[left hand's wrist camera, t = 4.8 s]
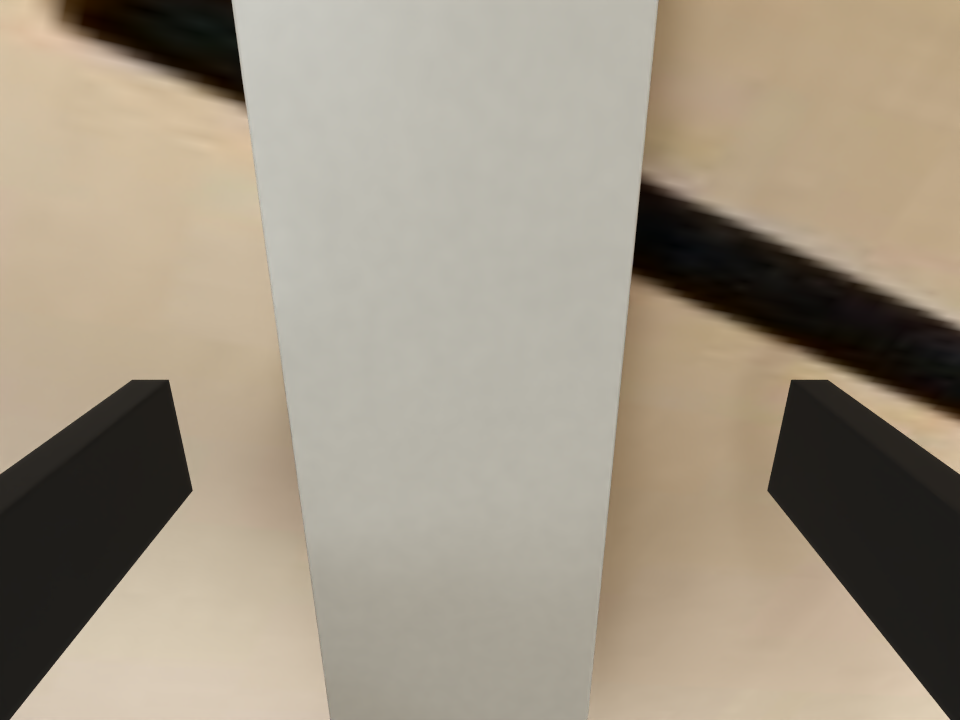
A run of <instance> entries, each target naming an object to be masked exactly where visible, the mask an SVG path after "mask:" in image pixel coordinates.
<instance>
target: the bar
mask: <svg viewBox="0 0 960 720" xmlns="http://www.w3.org/2000/svg"><path fill="white" fill-rule="evenodd" d="M658 1H659V0H232V6H233V13H234V20H235V28H236V35H237V42H238V49H239V57H240V64H241V71H242V79H243V86H244V93H245V101H246V108H247V115H248V122H249V130H250V137H251V144H252V152H253V159H254V166H255V174H256V181H257V188H258V195H259V203H260V210H261V217H262V225H263V232H264V239H265V247H266V254H267V261H268V268H269V276H270V283H271V290H272V298H273V305H274V312H275V320H276V327H277V334H278V342H279V349H280V356H281V363H282V371H283V378H284V385H285V393H286V400H287V407H288V415H289V422H290V429H291V436H292V444H293V451H294V458H295V466H296V473H297V480H298V488H299V495H300V502H301V509H302V517H303V524H304V531H305V539H306V546H307V553H308V561H309V568H310V575H311V582H312V590H313V597H314V604H315V612H316V619H317V626H318V634H319V641H320V648H321V656H322V663H323V670H324V677H325V685H326V692H327V699H328V707H329V714H330V720H588V712H589V701H590V691H591V681H592V671H593V661H594V651H595V641H596V630H597V620H598V610H599V600H600V590H601V580H602V570H603V559H604V549H605V539H606V529H607V519H608V509H609V499H610V488H611V478H612V468H613V458H614V448H615V438H616V428H617V417H618V407H619V397H620V387H621V377H622V367H623V357H624V346H625V336H626V326H627V316H628V306H629V296H630V286H631V275H632V265H633V255H634V245H635V235H636V225H637V215H638V204H639V194H640V184H641V174H642V164H643V154H644V143H645V133H646V123H647V113H648V103H649V93H650V83H651V72H652V62H653V52H654V42H655V32H656V22H657V12H658Z"/></svg>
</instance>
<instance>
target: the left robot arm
mask: <svg viewBox="0 0 960 720" xmlns="http://www.w3.org/2000/svg"><path fill="white" fill-rule="evenodd" d="M192 491H193V490H192V485H191V481H190V476H189V472H188V467H187V462H186V458H185V453H184V448H183V444H182V439H181V434H180V430H179V425H178V421H177V416H176V411H175V407H174V402H173V397H172V393H171V388H170V384H169V380H132V381H130V382H129V383H127V384H126V385H125V386H123V387H122V388H120V389H119V390H118V391H116V392H115V393H113V394H112V395H111V396H109V397H108V398H106V399H105V400H104V401H102V402H101V403H99V404H98V405H97V406H95V407H94V408H92V409H91V410H90V411H88V412H87V413H85V414H84V415H83V416H81V417H80V418H78V419H77V420H76V421H74V422H73V423H71V424H70V425H69V426H67V427H66V428H65V429H63V430H62V431H60V432H59V433H58V434H56V435H55V436H53V437H52V438H51V439H49V440H48V441H46V442H45V443H44V444H42V445H41V446H39V447H38V448H37V449H35V450H34V451H32V452H31V453H30V454H28V455H27V456H25V457H24V458H23V459H21V460H20V461H18V462H17V463H16V464H14V465H13V466H11V467H10V468H9V469H7V470H6V471H4V472H3V473H2V474H0V720H10V719H11V717H12V716H13V715H14V714H15V712H16V711H17V710H18V709H19V707H20V706H21V705H22V704H23V702H24V701H25V700H26V699H27V697H28V696H29V695H30V694H31V692H32V691H33V690H34V689H35V687H36V686H37V685H38V684H39V682H40V681H41V680H42V679H43V677H44V676H45V675H46V674H47V672H48V671H49V670H50V669H51V667H52V666H53V665H54V664H55V662H56V661H57V660H58V659H59V657H60V656H61V655H62V653H63V652H64V651H65V650H66V648H67V647H68V646H69V645H70V643H71V642H72V641H73V640H74V638H75V637H76V636H77V635H78V633H79V632H80V631H81V630H82V628H83V627H84V626H85V625H86V623H87V622H88V621H89V620H90V618H91V617H92V616H93V615H94V613H95V612H96V611H97V610H98V608H99V607H100V606H101V605H102V603H103V602H104V601H105V600H106V598H107V597H108V596H109V595H110V593H111V592H112V591H113V590H114V588H115V587H116V586H117V585H118V583H119V582H120V581H121V580H122V578H123V577H124V576H125V575H126V573H127V572H128V571H129V570H130V568H131V567H132V566H133V565H134V563H135V562H136V561H137V560H138V558H139V557H140V556H141V555H142V553H143V552H144V551H145V550H146V548H147V547H148V546H149V545H150V543H151V542H152V541H153V540H154V538H155V537H156V536H157V535H158V533H159V532H160V531H161V530H162V528H163V527H164V526H165V525H166V523H167V522H168V521H169V520H170V518H171V517H172V516H173V515H174V513H175V512H176V511H177V510H178V508H179V507H180V506H181V505H182V503H183V502H184V501H185V500H186V498H187V497H188V496H189V495H190V493H191V492H192ZM767 491H768V492H769V493H770V495H771V496H772V497H773V498H774V500H775V501H776V502H777V503H778V505H779V506H780V507H781V508H782V510H783V511H784V512H785V513H786V515H787V516H788V517H789V518H790V520H791V521H792V522H793V523H794V525H795V526H796V527H797V528H798V530H799V531H800V532H801V533H802V535H803V536H804V537H805V538H806V540H807V541H808V542H809V543H810V545H811V546H812V547H813V548H814V550H815V551H816V552H817V553H818V555H819V556H820V557H821V558H822V560H823V561H824V562H825V563H826V565H827V566H828V567H829V568H830V570H831V571H832V572H833V573H834V575H835V576H836V577H837V578H838V580H839V581H840V582H841V583H842V585H843V586H844V587H845V588H846V590H847V591H848V592H849V593H850V595H851V596H852V597H853V598H854V600H855V601H856V602H857V603H858V605H859V606H860V607H861V608H862V610H863V611H864V612H865V613H866V615H867V616H868V617H869V618H870V620H871V621H872V622H873V623H874V625H875V626H876V627H877V628H878V630H879V631H880V632H881V633H882V635H883V636H884V637H885V638H886V640H887V641H888V642H889V643H890V645H891V646H892V647H893V648H894V650H895V651H896V652H897V653H898V655H899V656H900V657H901V659H902V660H903V661H904V662H905V664H906V665H907V666H908V667H909V669H910V670H911V671H912V672H913V674H914V675H915V676H916V677H917V679H918V680H919V681H920V682H921V684H922V685H923V686H924V687H925V689H926V690H927V691H928V692H929V694H930V695H931V696H932V697H933V699H934V700H935V701H936V702H937V704H938V705H939V706H940V707H941V709H942V710H943V711H944V712H945V714H946V715H947V716H948V717H949V719H950V720H960V474H958V473H957V472H956V471H954V470H953V469H951V468H950V467H949V466H947V465H946V464H944V463H943V462H942V461H940V460H939V459H937V458H936V457H935V456H933V455H932V454H930V453H929V452H928V451H926V450H925V449H923V448H922V447H921V446H919V445H918V444H916V443H915V442H914V441H912V440H911V439H909V438H908V437H907V436H905V435H904V434H902V433H901V432H900V431H898V430H897V429H895V428H894V427H893V426H891V425H890V424H889V423H887V422H886V421H884V420H883V419H882V418H880V417H879V416H877V415H876V414H875V413H873V412H872V411H870V410H869V409H868V408H866V407H865V406H863V405H862V404H861V403H859V402H858V401H856V400H855V399H854V398H852V397H851V396H849V395H848V394H847V393H845V392H844V391H842V390H841V389H840V388H838V387H837V386H835V385H834V384H833V383H831V382H830V381H828V380H791V384H790V388H789V393H788V397H787V402H786V407H785V411H784V416H783V421H782V425H781V430H780V434H779V439H778V444H777V448H776V453H775V458H774V462H773V467H772V472H771V476H770V481H769V485H768V490H767Z"/></svg>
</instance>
